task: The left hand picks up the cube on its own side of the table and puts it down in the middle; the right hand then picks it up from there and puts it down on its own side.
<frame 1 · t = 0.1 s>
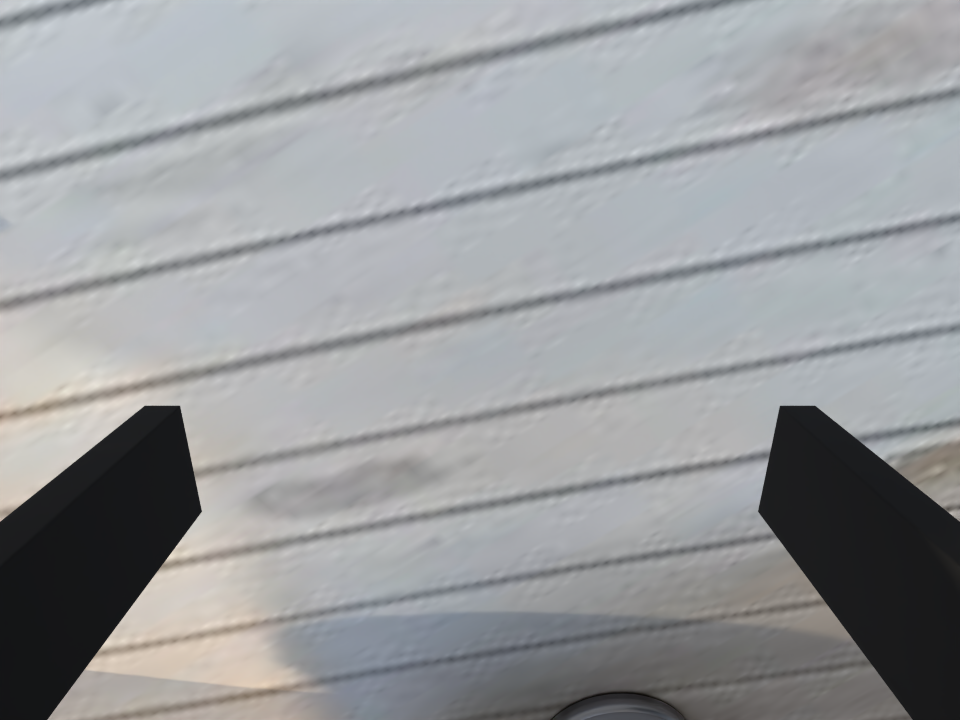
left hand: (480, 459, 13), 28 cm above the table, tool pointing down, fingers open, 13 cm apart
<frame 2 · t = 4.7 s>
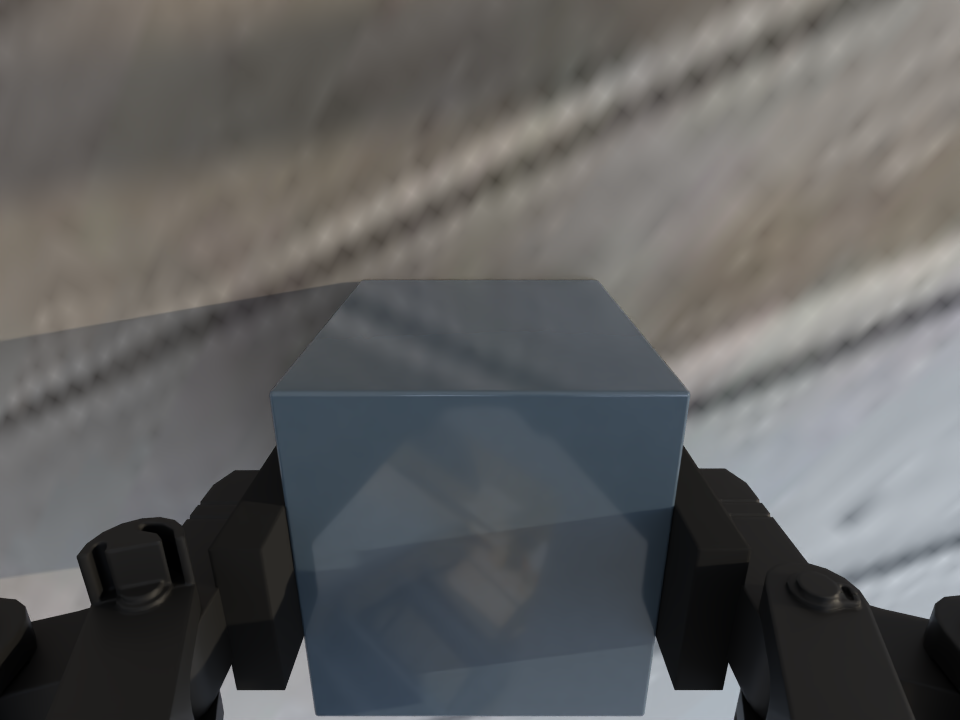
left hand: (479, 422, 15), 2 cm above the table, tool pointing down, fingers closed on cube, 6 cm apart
cube: (479, 395, 16), on the table, touching left hand
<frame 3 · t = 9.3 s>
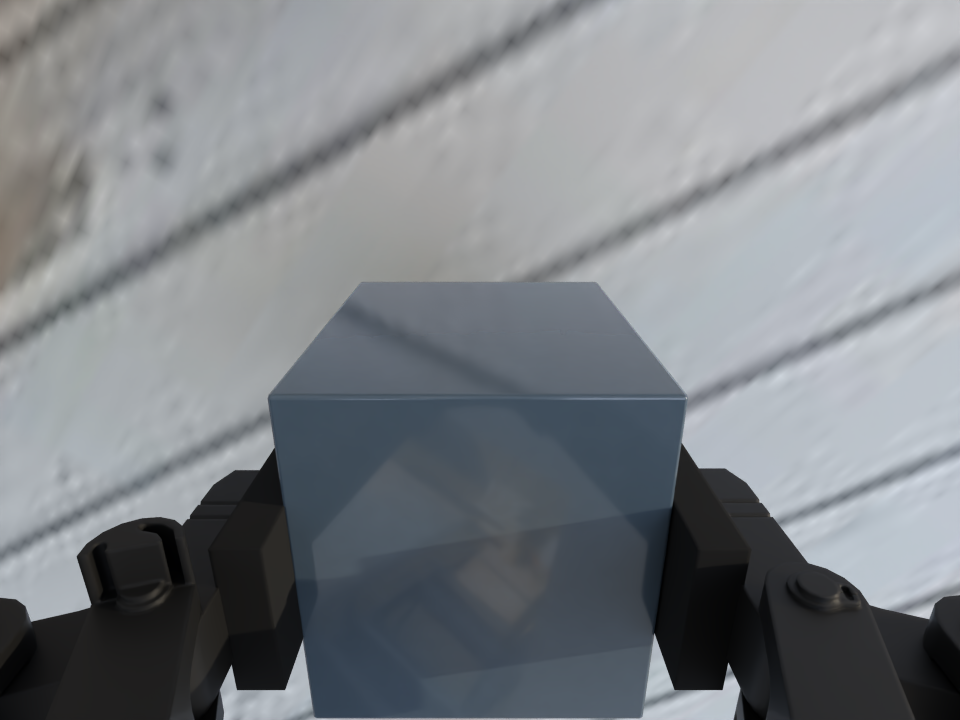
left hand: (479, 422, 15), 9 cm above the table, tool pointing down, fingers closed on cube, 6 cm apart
cube: (478, 397, 16), point 8 cm above the table, touching left hand
when the left hand's fingers open (3 cm above the table, at t = 14.0 s): cube drops 2 cm, on the table.
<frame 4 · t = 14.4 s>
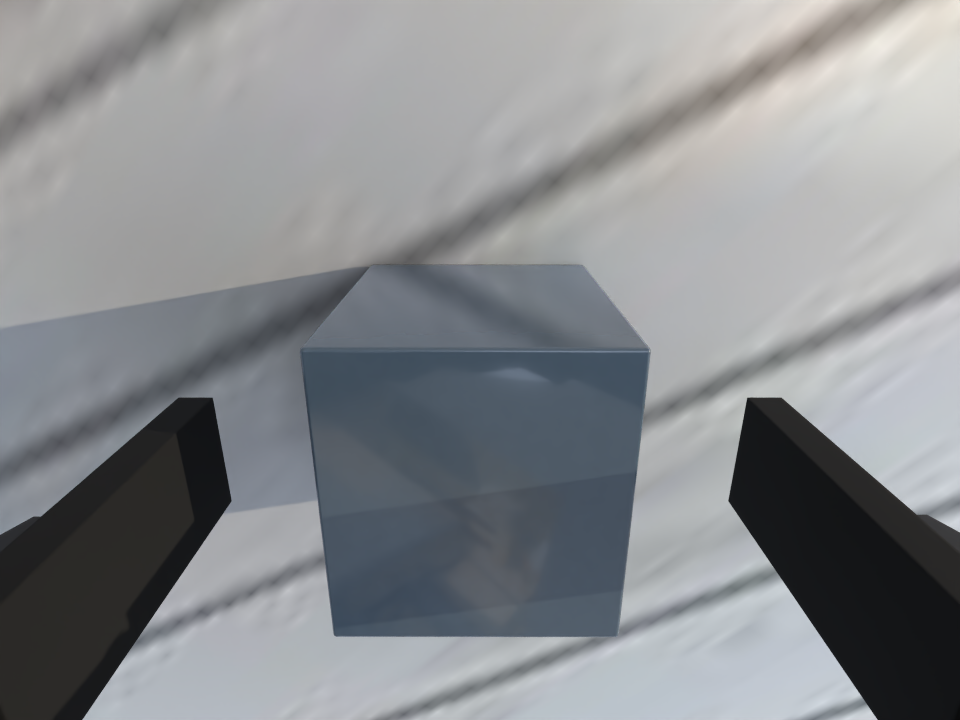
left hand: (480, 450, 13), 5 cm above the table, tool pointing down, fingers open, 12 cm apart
cube: (477, 370, 18), on the table
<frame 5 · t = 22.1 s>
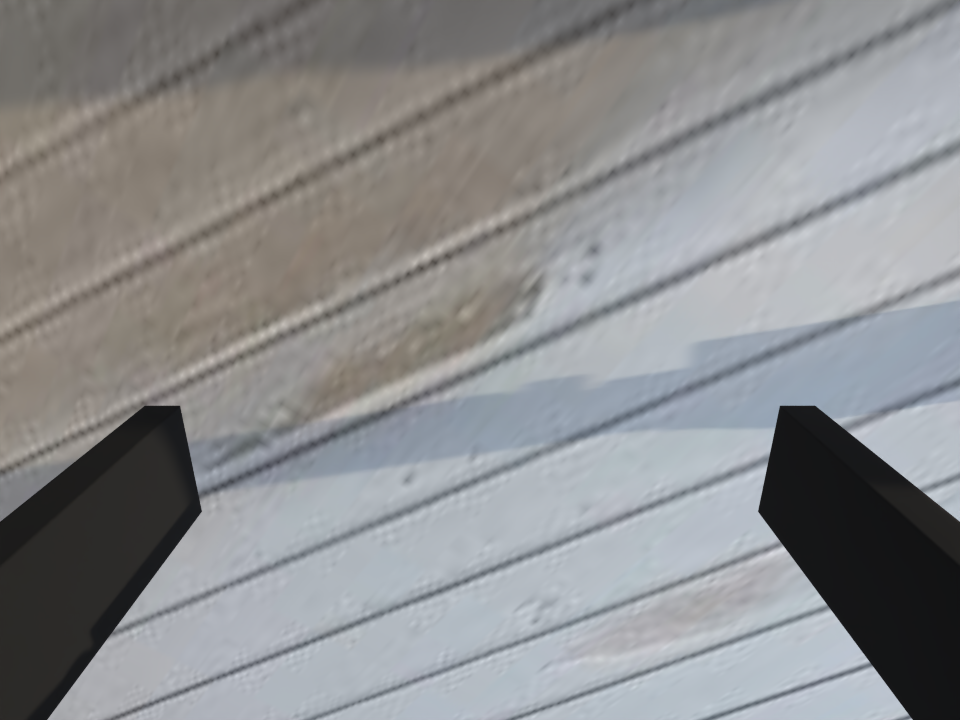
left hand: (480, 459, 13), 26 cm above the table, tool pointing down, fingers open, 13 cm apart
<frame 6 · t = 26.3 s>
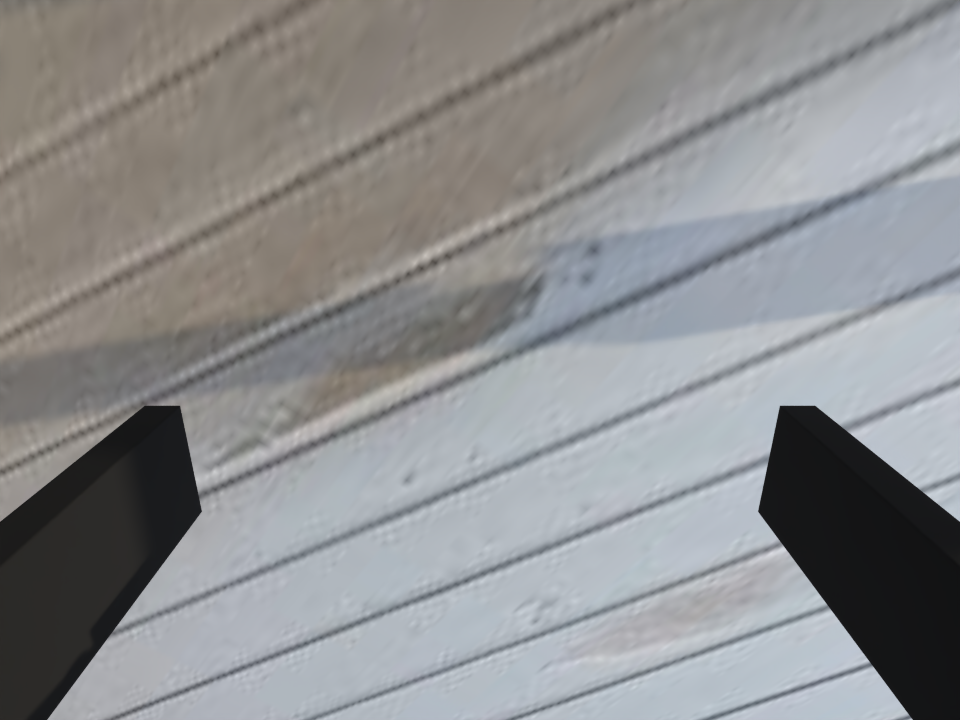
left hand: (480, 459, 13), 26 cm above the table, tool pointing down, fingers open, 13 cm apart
when the right hand's fingers open (3 cm above the table, at t = 30.6 s): cube drops 2 cm, on the table.
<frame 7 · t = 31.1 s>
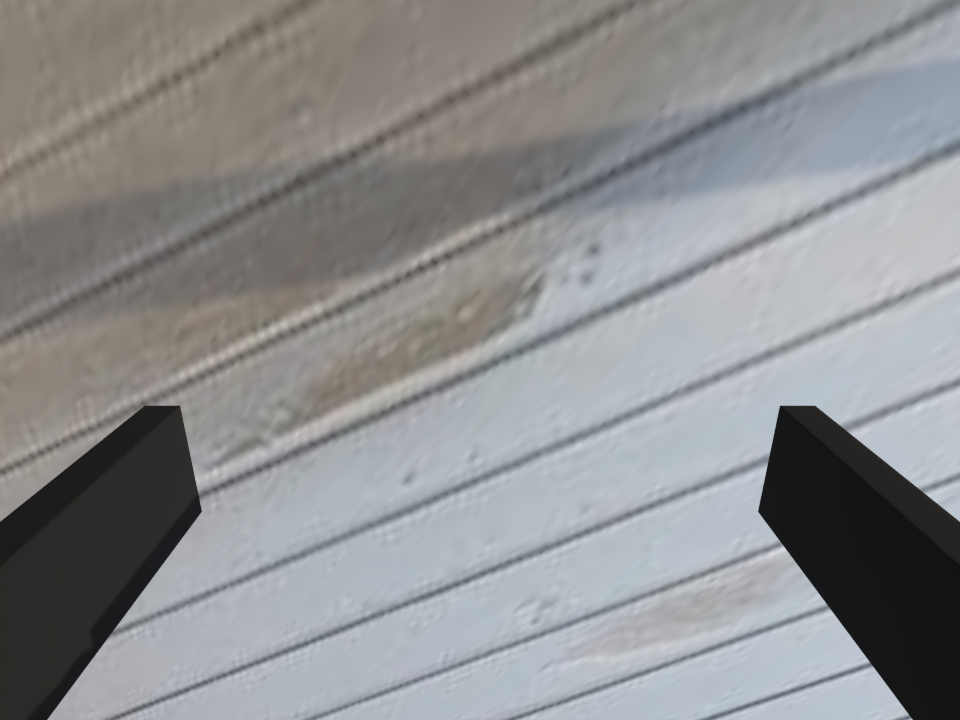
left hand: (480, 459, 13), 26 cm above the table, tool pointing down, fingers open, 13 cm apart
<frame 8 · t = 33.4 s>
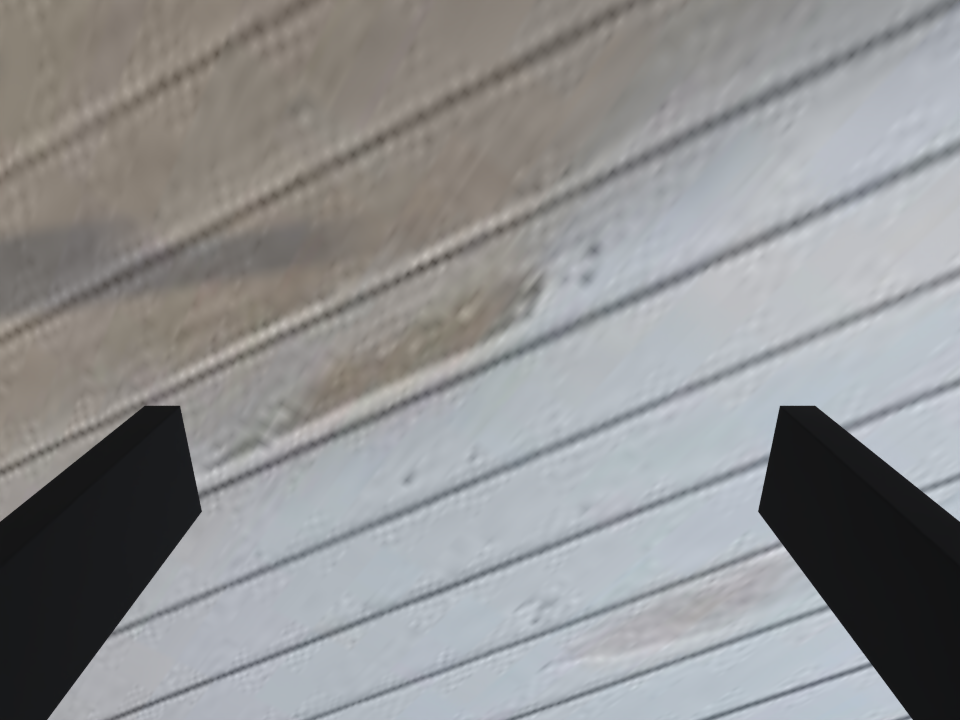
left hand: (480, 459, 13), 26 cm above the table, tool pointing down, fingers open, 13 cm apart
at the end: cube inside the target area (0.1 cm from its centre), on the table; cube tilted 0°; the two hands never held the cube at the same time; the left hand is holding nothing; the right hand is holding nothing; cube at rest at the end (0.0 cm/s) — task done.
